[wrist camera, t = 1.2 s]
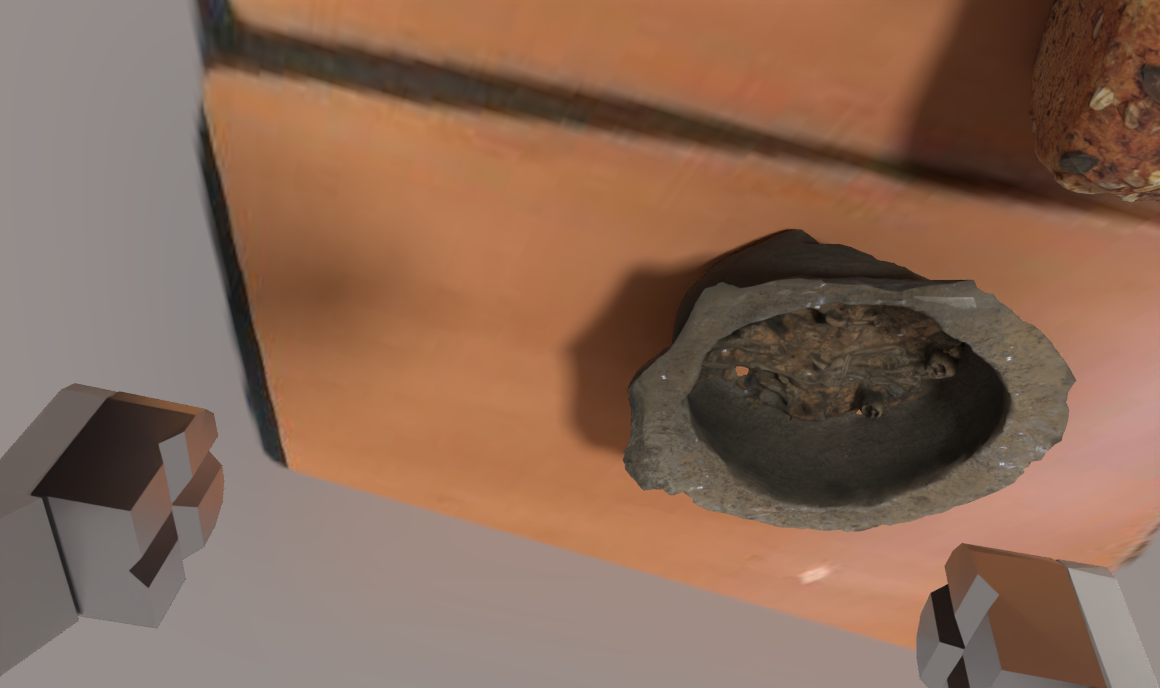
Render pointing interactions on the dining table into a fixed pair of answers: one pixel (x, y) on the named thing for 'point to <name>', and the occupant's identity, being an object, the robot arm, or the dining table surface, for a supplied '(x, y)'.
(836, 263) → the stone bowl
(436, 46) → the dining table surface
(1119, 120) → the bread
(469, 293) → the dining table surface
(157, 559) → the robot arm
